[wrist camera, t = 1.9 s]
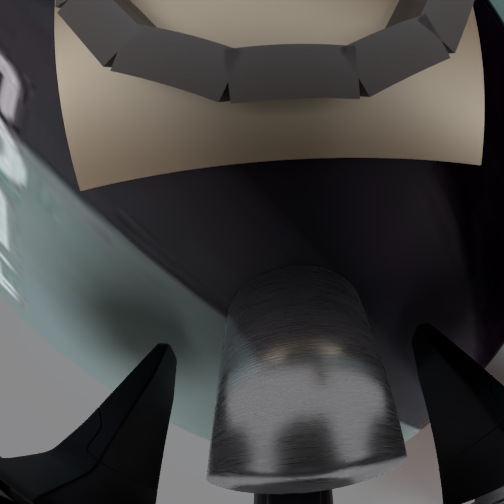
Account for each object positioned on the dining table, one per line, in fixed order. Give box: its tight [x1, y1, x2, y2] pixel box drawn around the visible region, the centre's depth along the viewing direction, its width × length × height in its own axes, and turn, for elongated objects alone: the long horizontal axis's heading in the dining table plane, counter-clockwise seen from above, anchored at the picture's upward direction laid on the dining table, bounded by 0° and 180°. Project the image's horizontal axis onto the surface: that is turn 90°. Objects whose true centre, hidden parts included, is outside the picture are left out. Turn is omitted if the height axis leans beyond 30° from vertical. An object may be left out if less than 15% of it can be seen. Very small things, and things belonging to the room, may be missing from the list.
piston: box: [207, 265, 407, 494], centre depth 7 cm, size 5×5×6 cm
